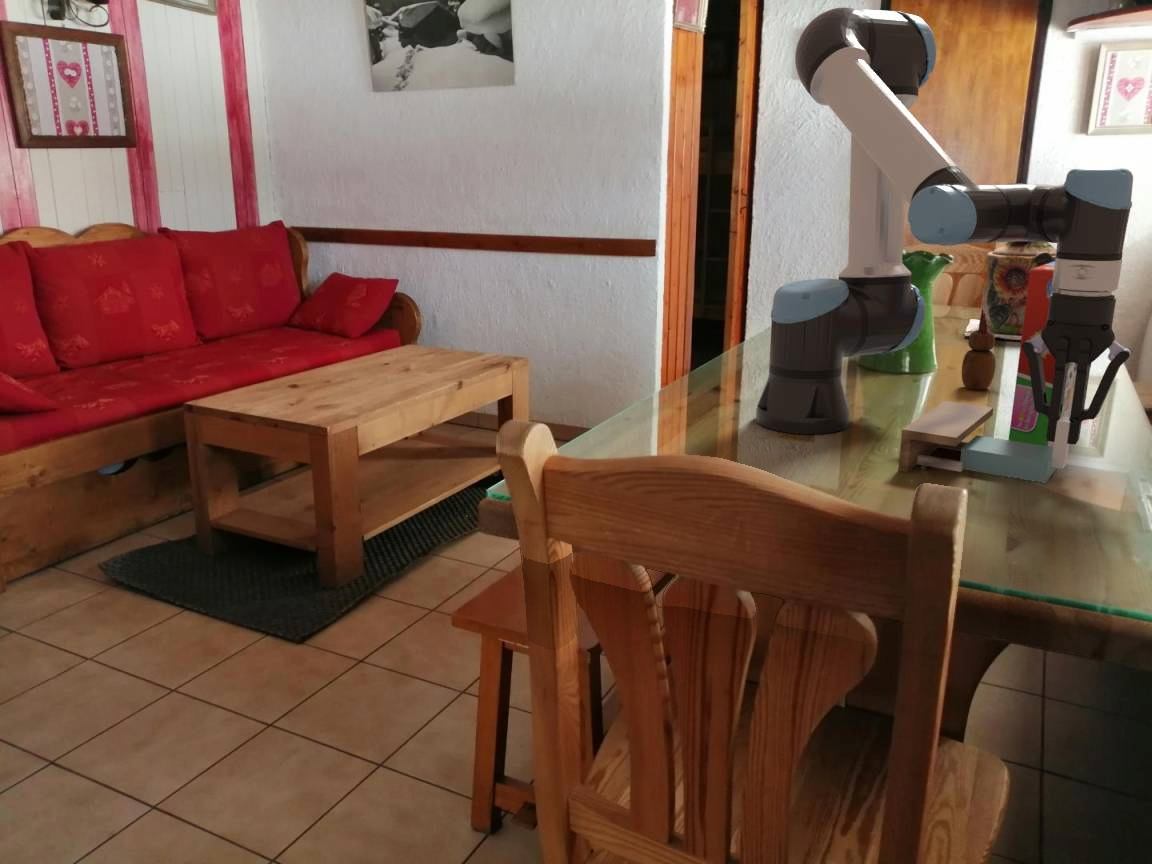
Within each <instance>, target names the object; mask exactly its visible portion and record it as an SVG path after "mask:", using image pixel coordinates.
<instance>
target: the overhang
mask: <svg viewBox="0 0 1152 864" xmlns="http://www.w3.org/2000/svg"><path fill="white" fill-rule="evenodd" d="M993 414H994V407H991V406H986V405H985V406H983V405H976V404H969V403H962V402H961V403H960V402H955V401H954V402H953V401H947V400H943V401H942V402H940V403H939V404H938V405H936V406H935V407H933V408H931V409H930V410H928V411H927V412H926V413H924V414H922V415H921V416H920V417H919V418H917V419H916V420H914V421H913V422H911V423H909V424H908V425H907V426H905V427H904V428H902V430H901V439H900V440H901V441H900V451H899V460H898V471H900V472H904V473H905V472H906V473H907V472H909V471H911V469H913V468H914V467H915V466H916V465H919V466H924V467H925V466H926V467H932V468H937V469H942V470H946V471H947V470H948V471H954V472H959V473H961V472H962V471H963V470H964V469H963V462H961V461H960V460H955V459H948V458H945V457H944V458H943V457H937V456H931V455H930V454H932V452H934V451H936V449H938V448H939V449H945V450H954V451H958V452H961V451H962V448H963V447H964V446H965V445H966V444H967V443H968V441H967V442H966V441H964V440H965V439H966V438H967V437H969V436H970V435H971V434H972V433H974V432H975V431H976V430H977V429H978V428H980V427H981V426H982V425H983V424H984V423H985V422H987V421H988V420H989V419H990V418H991V417H992V416H993Z"/></svg>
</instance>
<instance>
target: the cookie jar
mask: <svg viewBox="0 0 1152 864" xmlns="http://www.w3.org/2000/svg"><path fill="white" fill-rule="evenodd" d="M1056 249H1057V248H1055V247H1054V246H1053V245H1052V243H1050V242H1032V241H1013V242H1006V243H1005V245H1003V246H1000V247H998V248H996V249H994V250H993V251H989V252H987V253H986V259H987V261H988V263H989V264H988V267H987V268H988V269H987V277H986V280H985V281H986V282H985V284H984V286H983V290H982V298H981V299H982V300H981V306H980V311H981V312H982V310H983V314H984V313H985V319H986V324H987V331H991V332H993V334H994V336H995V338H1000V339H1004V340H1013V341H1015V340H1016V341H1021V339H1022V331H1023V323H1024V315H1025V308H1026V299H1027V291H1028V283H1029V276H1030V270H1031V269H1033V268H1036V267H1039V266H1042V265H1045V264H1048V263H1051V262H1054V261H1055V259H1056V252H1057V251H1056ZM981 312H980V313H981ZM979 323H980V319H974V318H972V319H971V318H970V319H969V323H968V325H967V326H966V327H965V332H966V331H967V332H968V331H971V330H972V331H976V330H978V329H979ZM965 332H964V333H963V335H964V334H965V335H964V337H965V336H967V337H969V336H970V334H971V333H965Z"/></svg>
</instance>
